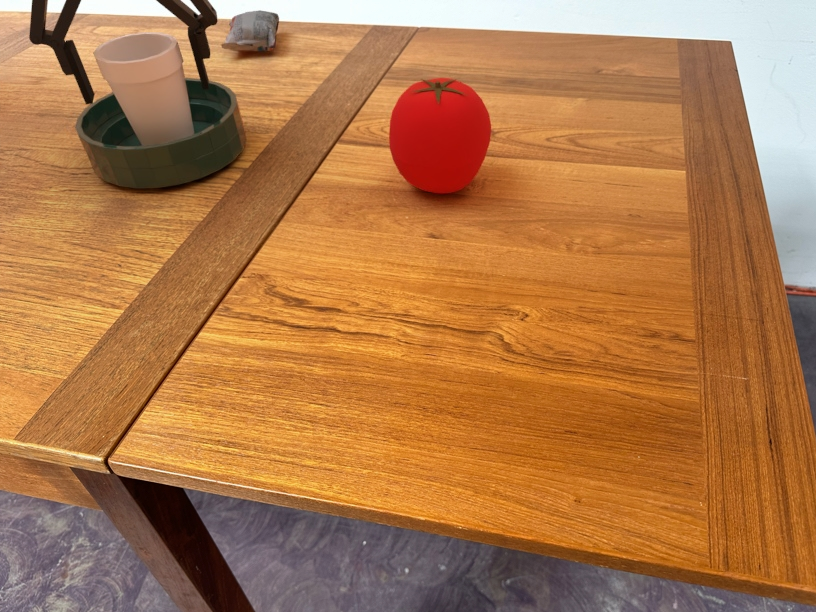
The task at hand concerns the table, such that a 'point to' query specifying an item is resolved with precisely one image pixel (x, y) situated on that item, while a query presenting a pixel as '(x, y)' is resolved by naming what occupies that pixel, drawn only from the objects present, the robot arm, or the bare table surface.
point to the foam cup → (148, 84)
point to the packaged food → (252, 31)
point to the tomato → (439, 135)
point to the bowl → (167, 162)
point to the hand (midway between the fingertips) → (149, 92)
